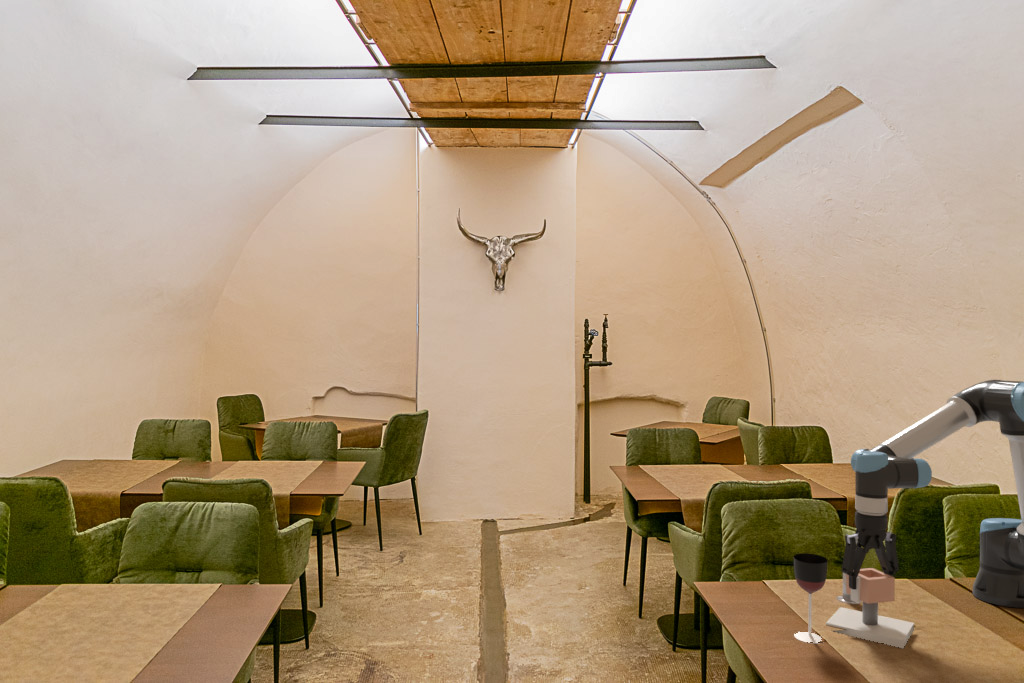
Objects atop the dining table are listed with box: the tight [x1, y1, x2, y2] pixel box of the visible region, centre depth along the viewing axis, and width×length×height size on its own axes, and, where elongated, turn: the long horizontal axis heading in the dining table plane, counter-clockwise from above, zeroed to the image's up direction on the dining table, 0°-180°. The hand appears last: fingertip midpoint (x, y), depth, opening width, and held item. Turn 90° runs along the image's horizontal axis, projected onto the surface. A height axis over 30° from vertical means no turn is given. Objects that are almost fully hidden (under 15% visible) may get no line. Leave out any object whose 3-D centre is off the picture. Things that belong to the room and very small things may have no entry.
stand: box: [835, 572, 863, 605], centre depth 211 cm, size 7×7×10 cm
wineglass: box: [793, 552, 828, 644], centre depth 189 cm, size 8×9×20 cm
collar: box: [846, 567, 896, 604], centre depth 193 cm, size 8×8×6 cm
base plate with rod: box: [825, 601, 915, 649], centre depth 193 cm, size 18×14×11 cm
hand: (869, 599), depth 193 cm, fingers closed on collar, 8 cm apart
